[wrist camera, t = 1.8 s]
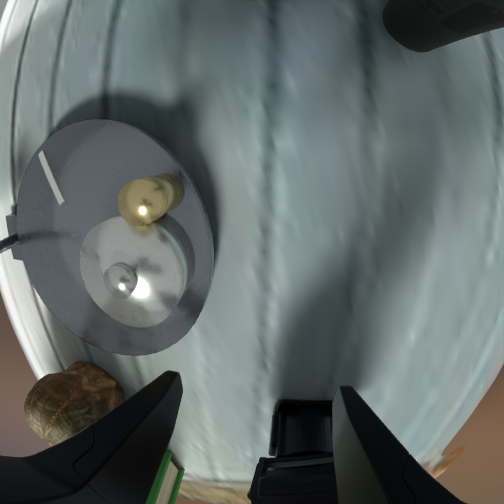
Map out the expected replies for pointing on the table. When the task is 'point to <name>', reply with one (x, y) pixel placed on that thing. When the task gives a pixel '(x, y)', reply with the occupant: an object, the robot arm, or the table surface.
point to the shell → (70, 401)
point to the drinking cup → (440, 21)
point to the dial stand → (11, 238)
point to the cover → (137, 268)
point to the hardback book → (166, 482)
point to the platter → (101, 209)
